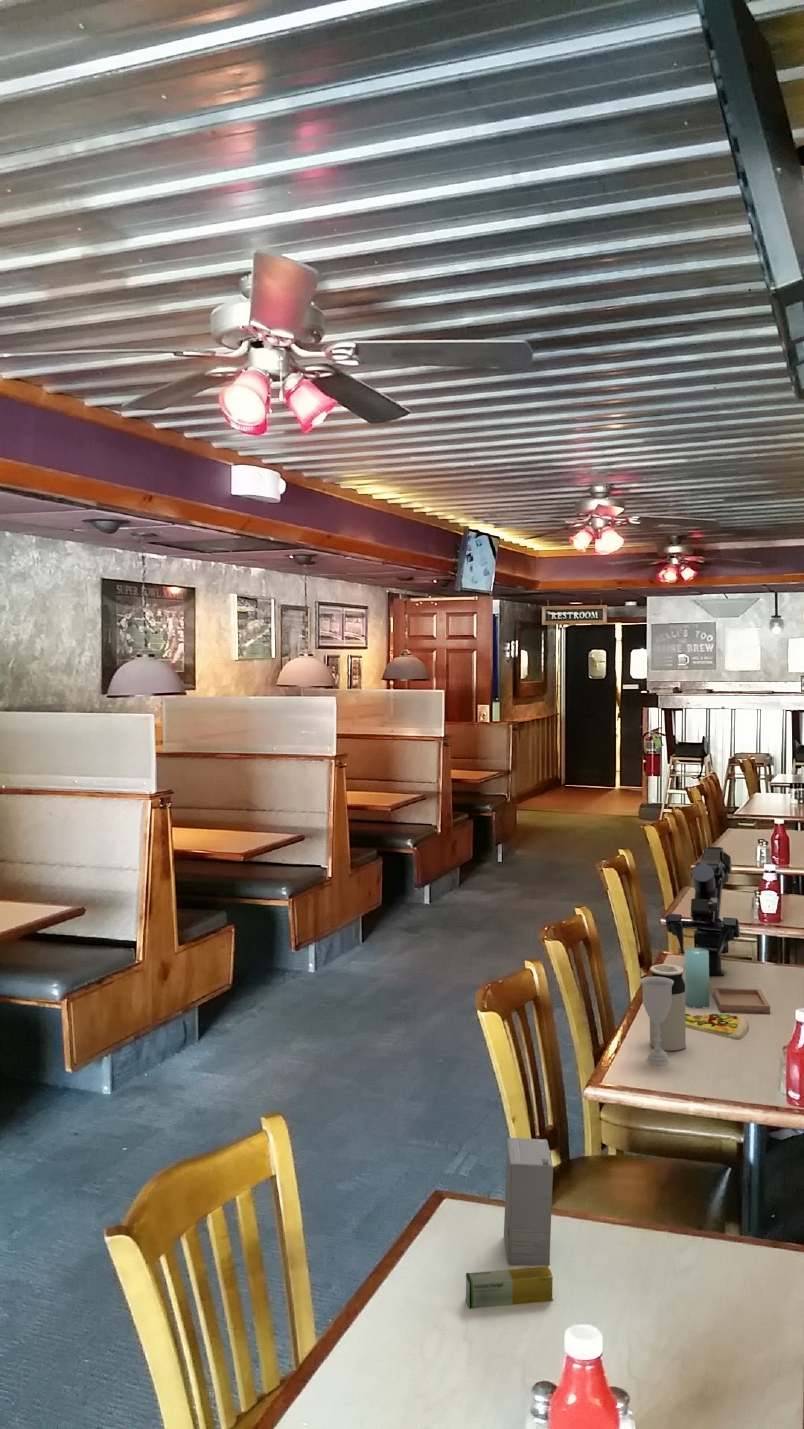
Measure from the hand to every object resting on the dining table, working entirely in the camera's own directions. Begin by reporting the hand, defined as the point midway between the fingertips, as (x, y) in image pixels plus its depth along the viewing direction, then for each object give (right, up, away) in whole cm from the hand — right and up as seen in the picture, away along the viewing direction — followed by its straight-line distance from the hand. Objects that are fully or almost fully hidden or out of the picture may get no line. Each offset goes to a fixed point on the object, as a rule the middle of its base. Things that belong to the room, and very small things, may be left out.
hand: (699, 953), depth 276 cm
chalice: (-21, -14, -43) cm, 50 cm away
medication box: (-63, -19, -130) cm, 146 cm away
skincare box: (-59, -18, -118) cm, 133 cm away
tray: (+9, -12, -5) cm, 16 cm away
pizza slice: (-5, -14, -20) cm, 25 cm away
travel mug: (-17, -14, -33) cm, 40 cm away
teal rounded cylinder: (-2, -12, -5) cm, 13 cm away
